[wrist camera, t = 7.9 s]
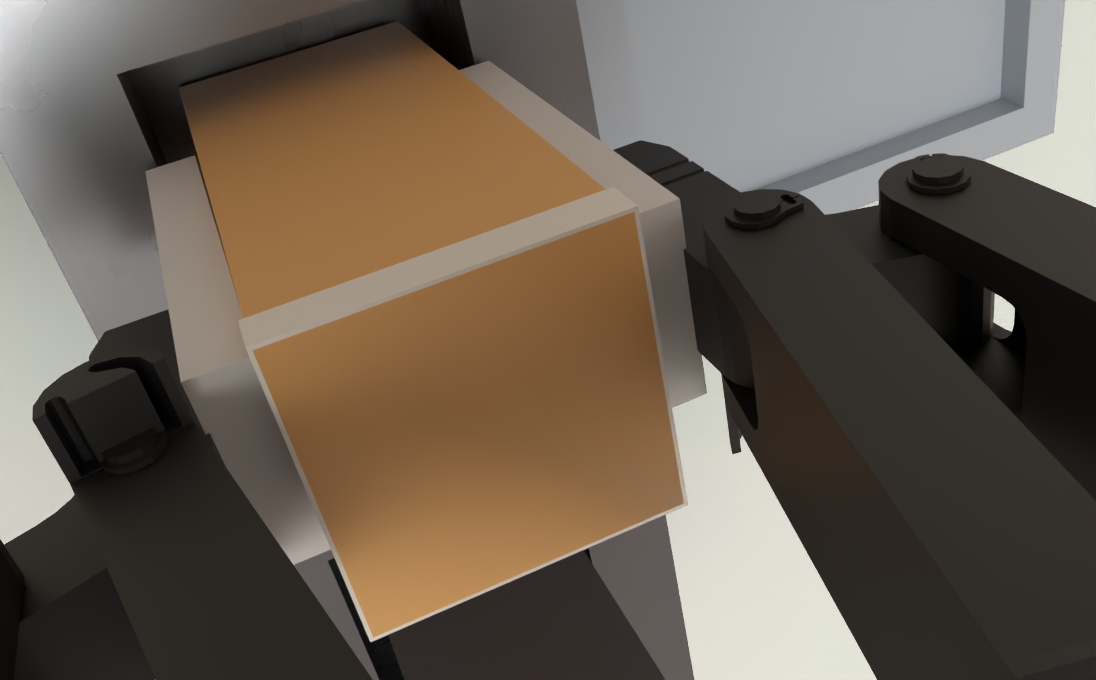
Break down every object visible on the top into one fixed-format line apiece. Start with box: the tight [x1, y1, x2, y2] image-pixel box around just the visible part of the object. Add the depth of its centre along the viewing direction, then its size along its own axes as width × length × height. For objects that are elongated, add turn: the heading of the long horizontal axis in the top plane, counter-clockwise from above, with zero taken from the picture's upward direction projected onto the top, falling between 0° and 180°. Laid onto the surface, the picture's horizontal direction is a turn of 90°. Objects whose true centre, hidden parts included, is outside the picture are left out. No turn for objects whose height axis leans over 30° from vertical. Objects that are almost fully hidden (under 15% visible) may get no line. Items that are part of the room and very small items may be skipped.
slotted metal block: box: [0, 0, 694, 680], centre depth 21 cm, size 22×9×4 cm, turn 12°
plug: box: [179, 21, 688, 642], centre depth 15 cm, size 4×4×10 cm
